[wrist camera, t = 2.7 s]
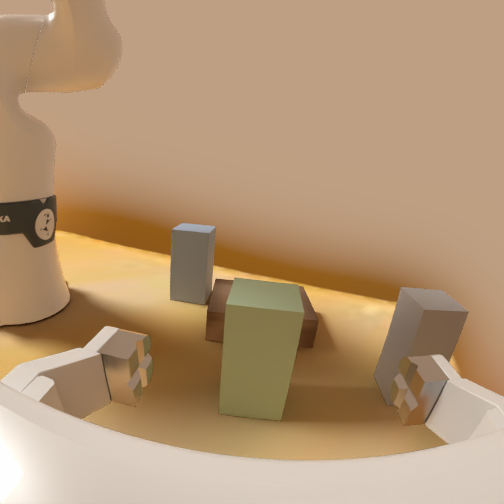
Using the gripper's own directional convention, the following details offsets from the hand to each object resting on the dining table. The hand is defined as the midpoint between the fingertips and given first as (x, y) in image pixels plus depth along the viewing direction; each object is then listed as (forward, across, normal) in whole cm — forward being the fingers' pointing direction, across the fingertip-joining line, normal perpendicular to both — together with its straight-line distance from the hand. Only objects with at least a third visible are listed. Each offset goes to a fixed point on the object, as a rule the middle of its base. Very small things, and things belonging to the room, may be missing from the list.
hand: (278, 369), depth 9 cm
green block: (+12, 0, +12) cm, 18 cm away
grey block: (+14, -15, +13) cm, 24 cm away
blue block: (+32, +10, +12) cm, 36 cm away
